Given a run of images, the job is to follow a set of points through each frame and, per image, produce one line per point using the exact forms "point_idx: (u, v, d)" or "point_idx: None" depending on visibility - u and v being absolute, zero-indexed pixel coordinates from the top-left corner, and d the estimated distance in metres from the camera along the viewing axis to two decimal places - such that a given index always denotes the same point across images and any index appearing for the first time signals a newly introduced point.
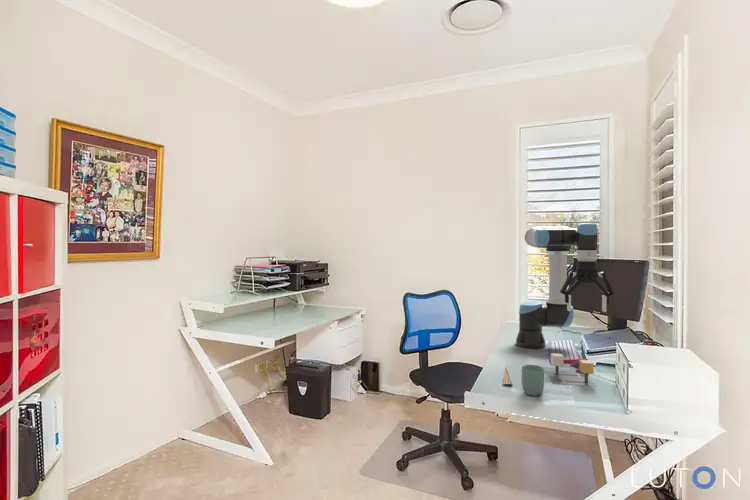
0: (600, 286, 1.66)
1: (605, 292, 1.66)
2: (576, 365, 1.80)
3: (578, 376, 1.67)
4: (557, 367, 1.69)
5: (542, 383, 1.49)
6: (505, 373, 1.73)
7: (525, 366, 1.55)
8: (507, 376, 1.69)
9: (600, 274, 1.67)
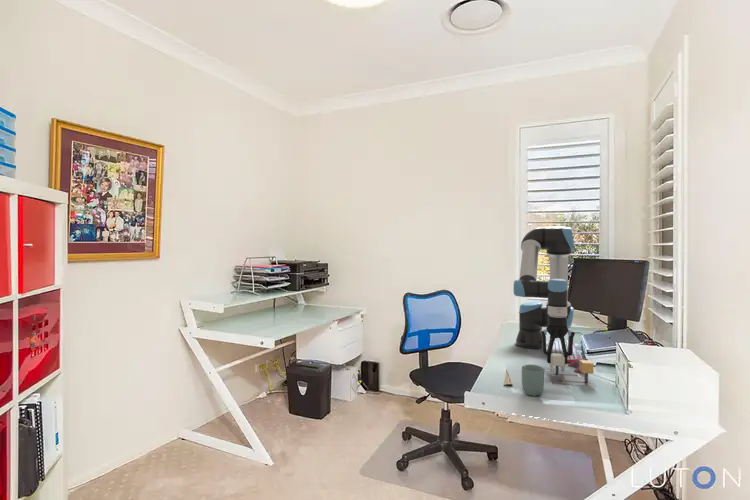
0: (564, 345, 1.68)
1: (565, 352, 1.68)
2: (574, 365, 1.80)
3: (578, 376, 1.67)
4: (557, 367, 1.69)
5: (542, 383, 1.49)
6: (506, 373, 1.73)
7: (525, 366, 1.55)
8: (508, 376, 1.69)
9: (569, 332, 1.68)
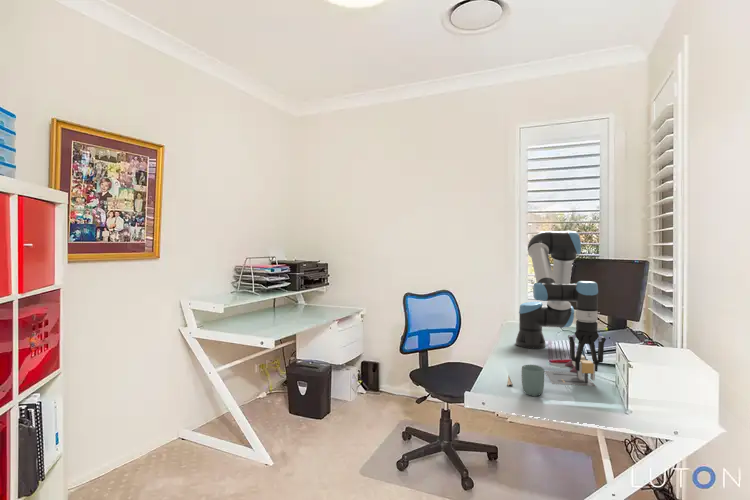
0: (594, 351, 1.58)
1: (595, 359, 1.58)
2: (571, 365, 1.80)
3: None
4: None
5: (542, 383, 1.49)
6: None
7: (525, 366, 1.55)
8: None
9: (600, 338, 1.58)
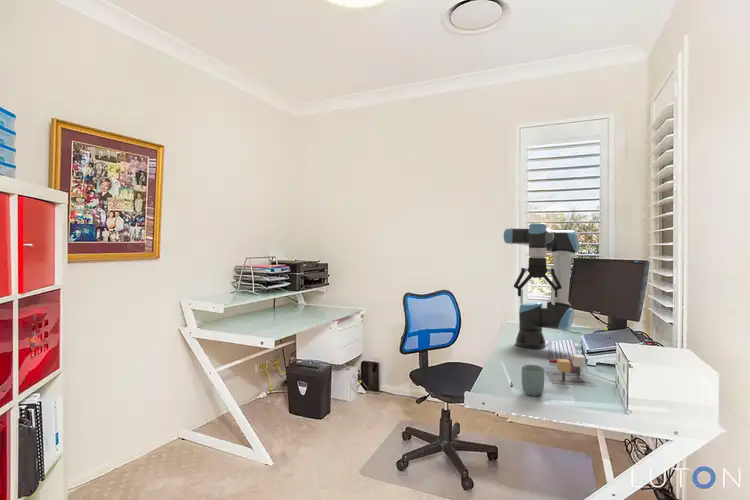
0: (549, 281, 1.80)
1: (554, 286, 1.80)
2: None
3: (578, 376, 1.67)
4: (579, 368, 1.68)
5: (542, 383, 1.49)
6: None
7: (525, 366, 1.55)
8: None
9: (549, 270, 1.81)
